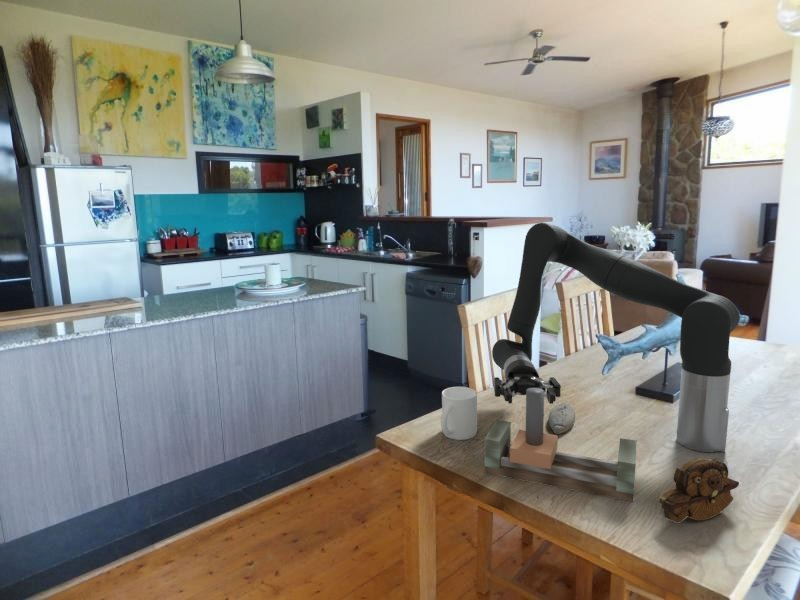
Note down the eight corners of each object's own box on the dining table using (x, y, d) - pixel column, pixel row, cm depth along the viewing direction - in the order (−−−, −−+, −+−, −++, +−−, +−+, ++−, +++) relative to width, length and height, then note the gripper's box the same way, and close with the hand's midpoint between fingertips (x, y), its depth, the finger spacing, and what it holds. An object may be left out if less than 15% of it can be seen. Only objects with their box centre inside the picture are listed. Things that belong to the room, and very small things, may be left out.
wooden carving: (679, 538, 86) (683, 482, 84) (654, 522, 90) (658, 469, 88) (742, 510, 93) (747, 458, 91) (717, 497, 97) (722, 447, 95)
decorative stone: (544, 435, 124) (545, 422, 123) (552, 410, 138) (552, 398, 137) (572, 439, 122) (572, 425, 121) (576, 413, 136) (577, 401, 135)
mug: (458, 450, 118) (457, 407, 116) (427, 441, 123) (426, 399, 121) (483, 431, 127) (483, 390, 125) (453, 423, 132) (453, 384, 130)
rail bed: (634, 475, 105) (636, 440, 104) (633, 501, 96) (635, 464, 95) (497, 451, 117) (497, 419, 115) (484, 472, 108) (484, 439, 106)
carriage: (557, 448, 110) (559, 385, 108) (550, 469, 102) (552, 401, 100) (519, 442, 114) (520, 381, 111) (509, 461, 106) (510, 396, 103)
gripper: (490, 359, 126) (497, 382, 110) (550, 358, 125) (566, 382, 109) (490, 388, 128) (496, 415, 112) (550, 388, 127) (565, 416, 111)
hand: (531, 399), depth 111 cm, fingers open, 8 cm apart
